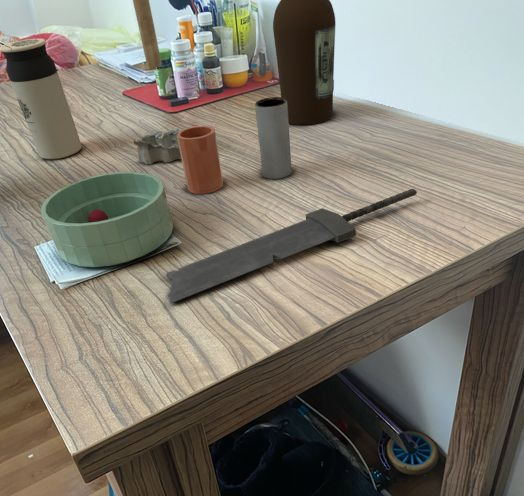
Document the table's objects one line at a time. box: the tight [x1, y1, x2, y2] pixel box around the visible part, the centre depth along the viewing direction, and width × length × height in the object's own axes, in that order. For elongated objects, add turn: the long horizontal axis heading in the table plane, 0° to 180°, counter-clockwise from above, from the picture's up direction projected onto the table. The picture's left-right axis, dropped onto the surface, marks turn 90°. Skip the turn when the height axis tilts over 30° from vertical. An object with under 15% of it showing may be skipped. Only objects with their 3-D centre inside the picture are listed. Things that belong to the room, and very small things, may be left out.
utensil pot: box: [177, 125, 224, 195], centre depth 75 cm, size 5×5×8 cm
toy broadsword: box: [165, 188, 418, 304], centre depth 61 cm, size 7×35×2 cm, turn 118°
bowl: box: [40, 171, 174, 268], centre depth 66 cm, size 15×15×6 cm
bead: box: [88, 210, 108, 223], centre depth 68 cm, size 3×3×3 cm
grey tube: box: [254, 96, 293, 180], centre depth 75 cm, size 4×4×10 cm
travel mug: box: [0, 38, 83, 160], centre depth 91 cm, size 8×8×18 cm
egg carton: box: [133, 125, 199, 165], centre depth 88 cm, size 11×8×4 cm
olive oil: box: [272, 0, 337, 126], centre depth 89 cm, size 11×11×25 cm
